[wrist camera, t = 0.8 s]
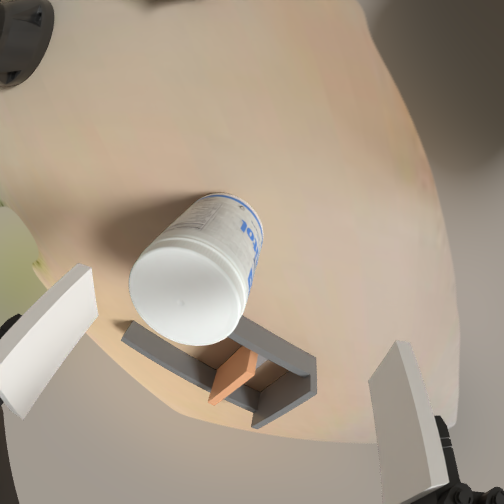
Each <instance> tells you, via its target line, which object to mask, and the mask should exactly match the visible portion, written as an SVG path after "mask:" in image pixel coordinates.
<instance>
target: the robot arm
mask: <svg viewBox="0 0 504 504" xmlns="http://www.w3.org/2000/svg"><path fill="white" fill-rule="evenodd" d="M0 1H1V0H0ZM53 25H54V10H53V7H52V5H51V3H50V2H49V1H48V0H15V1H10V2H6V3H0V86H11V85H17V84H20V83H22V82H23V81H25V80H26V79H27V78H28V77H29V76H30V75H31V74H32V73H33V71H34V70H35V69H36V67H37V66H38V64H39V63H40V61H41V59H42V57H43V55H44V53H45V51H46V49H47V47H48V44H49V41H50V38H51V35H52V31H53ZM97 317H98V311H97V305H96V298H95V291H94V284H93V277H92V268H91V267H89V266H86V265H83V264H80V263H78V264H76V265H75V266H74V267H73V268H72V269H71V270H70V271H68V272H67V273H66V274H65V275H64V276H63V277H62V278H61V279H60V280H59V281H58V282H56V283H55V284H54V285H53V286H52V287H51V288H50V289H49V290H48V291H47V292H46V293H45V294H44V295H43V296H42V297H41V298H40V299H39V300H38V301H37V302H35V303H34V304H33V306H31V307H30V308H29V309H28V310H27V312H26V313H25V314H24V315H23V316H22V315H20V314H17V315H15V316H13V317H11V318H10V319H8V320H7V321H6V322H5V323H4V324H3V325H2V326H1V327H0V504H19V501H18V497H17V493H16V490H15V486H14V481H13V477H12V472H11V467H10V462H9V457H8V450H7V444H6V436H5V427H4V417H3V410H2V407H1V405H2V404H3V402H4V403H5V405H6V406H7V407H8V408H9V410H10V411H11V412H13V413H14V414H15V415H17V416H18V417H20V418H21V419H22V420H24V418H25V416H26V415H27V413H28V412H29V410H30V409H31V407H32V406H33V404H34V403H35V401H36V400H37V398H38V397H39V395H40V393H41V392H42V391H43V389H44V388H45V386H46V385H47V383H48V382H49V381H50V379H51V378H52V376H53V375H54V373H55V372H56V371H57V369H58V368H59V367H60V365H61V364H62V362H63V361H64V360H65V358H66V357H67V355H68V354H69V353H70V352H71V350H72V349H73V347H74V346H75V345H76V343H77V342H78V341H79V340H80V338H81V337H82V335H83V334H84V333H85V332H86V331H87V329H88V328H89V327H90V325H91V324H92V323H93V322H94V320H95V319H96V318H97ZM368 383H369V388H370V394H371V400H372V407H373V413H374V420H375V428H376V435H377V443H378V452H379V461H380V472H381V484H382V499H383V504H504V491H503V489H501V488H500V487H494V488H493V489H491V490H489V491H488V492H486V493H484V492H474V491H472V490H471V488H470V487H469V486H468V485H467V484H464V483H461V482H460V479H459V475H458V471H457V465H456V461H455V457H454V452H453V448H451V446H452V444H451V440H450V439H449V437H450V436H449V432H448V429H447V425H446V424H445V422H444V421H443V419H442V418H441V416H434V414H433V410H432V407H431V403H430V400H429V397H428V393H427V390H426V387H425V384H424V381H423V378H422V374H421V371H420V369H419V366H418V363H417V360H416V357H415V354H414V351H413V349H412V346H411V343H410V342H405V341H398V340H396V341H395V342H394V344H393V345H392V347H391V349H390V350H389V352H388V353H387V355H386V356H385V358H384V359H383V361H382V362H381V363H380V365H379V366H378V368H377V369H376V371H375V372H374V373H373V375H372V376H371V378H370V379H369V380H368Z"/></svg>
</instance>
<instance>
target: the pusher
mask: <svg viewBox="0 0 504 504" xmlns="http://www.w3.org/2000/svg"><path fill="white" fill-rule="evenodd" d="M266 360H268V359H266V358H264V357H262V356H261V355H259V354H257V353H255V352H253V351H252V350H250V349H248V348H246V347H244V346H242V347H240V348H239V349H238V350H237V351H236V352H235V353H234V354H233V355H232V356H231V357H230V358H229V359H228V360H227V361H226V362H225V363H224V364H223V365H221V366H220V367H219V368H218V369H217V372H216V376H215V379H214V382H213V386H212V389H211V393H210V396H209V399H208V403H210V404H212V405H214V406H215V405H216V404H217V403H219V402H220V401H222V400H223V399H224V398H226V397H227V396H228V395H230V394H231V393H232V392H233V391H235V390H236V389H237V388H239V387H240V386H241V385H243V384H244V383H245V382H246V381H248V380H249V379H250V378H251V377H253V376H254V375H255V370H256V369H257V368H258V367H259V366H260V365H262V364H263V363H264V362H265V361H266Z"/></svg>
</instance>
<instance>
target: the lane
mask: <svg viewBox="0 0 504 504" xmlns="http://www.w3.org/2000/svg"><path fill="white" fill-rule="evenodd" d="M227 337H228V338H230V339H232V340H234V341H235V342H237V343H239V344H241V345H243V346H244V347H246V348H248V349H250V350H252V351H253V352H255V353H257V354H259V355H261V356H262V357H264V358H266V359H268V360H270V361H272V362H274V363H276V364H278V365H279V366H281V367H283V368H285V369H287V370H289V372H287V373H286V374H285V375H283V376H282V377H281V378H279V379H278V380H277V381H275V382H274V383H273V384H271V385H270V386H268V387H267V388H266V389H264V390H263V391H261V392H258V391H256V390H254V389H252V388H250V387H248V386H246V385H244V384H243V385H241V386H240V387H239V388H237V389H236V390H235V391H233V392H232V393H231V394H230V395H228V396H227V397H226V398H224V400H226V401H229V402H231V403H233V404H235V405H237V406H239V407H241V408H244V409H246V410H248V411H250V412H253V419H252V425H251V427H252V428H255V429H259V428H261V427H262V426H264V425H266V424H268V423H270V422H271V421H273V420H275V419H277V418H278V417H280V416H282V415H284V414H285V413H287V412H289V411H290V410H292V409H294V408H295V407H297V406H299V405H300V404H302V403H303V402H305V401H307V400H308V399H310V398H311V397H313V396H314V395H316V394H317V371H316V357H314V356H312V355H310V354H308V353H306V352H305V351H303V350H301V349H299V348H298V347H296V346H294V345H292V344H290V343H289V342H287V341H285V340H283V339H282V338H280V337H278V336H276V335H275V334H273V333H271V332H269V331H268V330H266V329H264V328H263V327H261V326H259V325H258V324H256V323H254V322H253V321H251V320H249V319H248V318H246V317H244V316H243V315H242V316H241V318H240V319H239V322H238V324H237V326H236V328H235V329H234V331H233V332H232V333H231V334H230V335H229V336H227ZM121 341H122V342H124V343H125V344H127V345H128V346H130V347H132V348H133V349H135V350H136V351H138V352H139V353H141V354H143V355H144V356H146V357H147V358H149V359H151V360H152V361H154V362H156V363H157V364H159V365H161V366H162V367H164V368H166V369H168V370H169V371H171V372H173V373H175V374H176V375H178V376H180V377H182V378H183V379H185V380H187V381H189V382H191V383H193V384H195V385H197V386H198V387H200V388H202V389H204V390H206V391H208V392H210V393H211V389H212V386H213V382H214V379H215V376H216V372H217V370H215V369H213V368H211V367H209V366H207V365H206V364H204V363H202V362H200V361H198V360H197V359H195V358H193V357H191V356H190V355H188V354H186V353H185V352H183V351H181V350H179V349H178V348H176V347H174V346H173V345H171V344H169V343H168V342H166V341H164V340H163V339H161V338H160V337H158V336H156V335H155V334H153V333H152V332H150V331H149V330H147V329H145V328H144V327H142V326H141V325H139V324H138V323H136V322H135V321H133V322H132V323H131V325H130V326H129V328H128V329H127V331H126V332H125V334H124V335H123V337H122V339H121Z"/></svg>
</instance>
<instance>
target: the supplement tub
mask: <svg viewBox="0 0 504 504" xmlns="http://www.w3.org/2000/svg"><path fill="white" fill-rule="evenodd" d="M262 243H263V227H262V224H261V221H260V218H259V217H258V215H257V213H256V212H255V210H254V209H253V208H252V207H251V206H250V205H249V204H248V203H247V202H246V201H244V200H243V199H241V198H239V197H237V196H234V195H231V194H226V193H214V194H209V195H206V196H204V197H202V198H200V199H198V200H197V201H196V202H195V203H194V204H192V205H191V206H190V207H189V208H188V209H187V210H186V211H185V212H184V213H183V214H181V215H180V216H179V217H178V218H177V219H176V220H175V221H174V222H173V223H172V224H171V225H170V226H168V227H167V228H166V229H165V230H164V231H163V232H162V233H161V234H160V235H159V236H158V237H157V238H156V239H155V240H154V241H153V242H152V243H151V244H150V245H149V246H148V247H147V248H146V249H145V250H144V251H143V252H142V253H141V255H140V256H139V258H138V260H137V261H136V262H135V264H134V265H133V267H132V269H131V272H130V276H129V292H130V296H131V299H132V302H133V304H134V307H135V308H136V310H137V312H138V313H139V315H140V316H141V317H142V319H143V320H144V321H145V322H146V323H147V324H148V325H149V326H150V327H151V328H152V329H154V330H155V331H156V332H158V333H159V334H161V335H162V336H164V337H166V338H168V339H170V340H172V341H175V342H178V343H181V344H185V345H193V346H203V345H210V344H214V343H217V342H219V341H221V340H223V339H225V338H226V337H227V336H229V335H230V334H231V333H232V332H233V331H234V329H235V328H236V326H237V324H238V322H239V319H240V318H241V316H242V314H243V312H244V309H245V306H246V303H247V299H248V296H249V292H250V288H251V285H252V281H253V277H254V274H255V270H256V266H257V262H258V259H259V255H260V251H261V247H262Z"/></svg>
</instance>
